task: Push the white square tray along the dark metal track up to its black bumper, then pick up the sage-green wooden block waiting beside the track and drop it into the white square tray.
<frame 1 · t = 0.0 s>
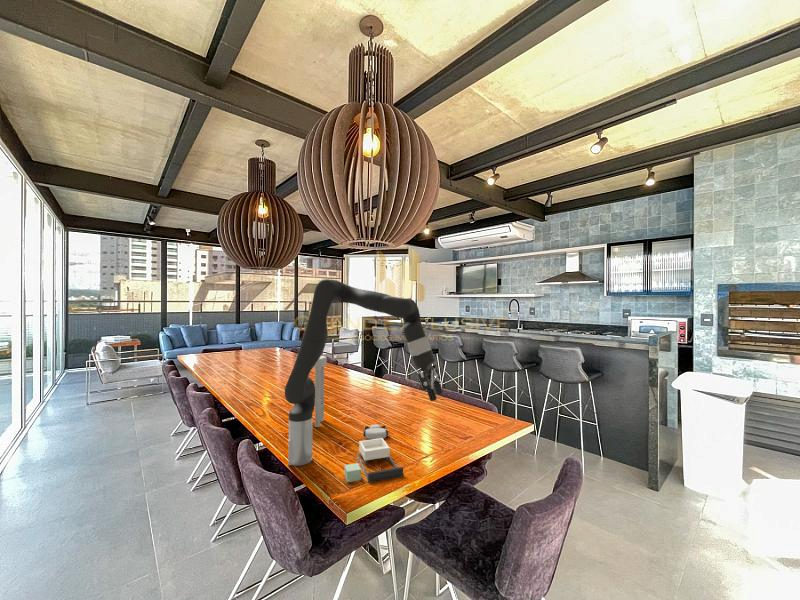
hand: (437, 397, 115), 31 cm above the table, tool tilted 20°, fingers open, 8 cm apart
white square tray: (374, 451, 134), point 4 cm above the table, slide at 0.0 cm
robot toy: (375, 437, 159), on the table
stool: (311, 424, 176), on the table
block: (352, 481, 119), on the table
track: (377, 468, 129), on the table
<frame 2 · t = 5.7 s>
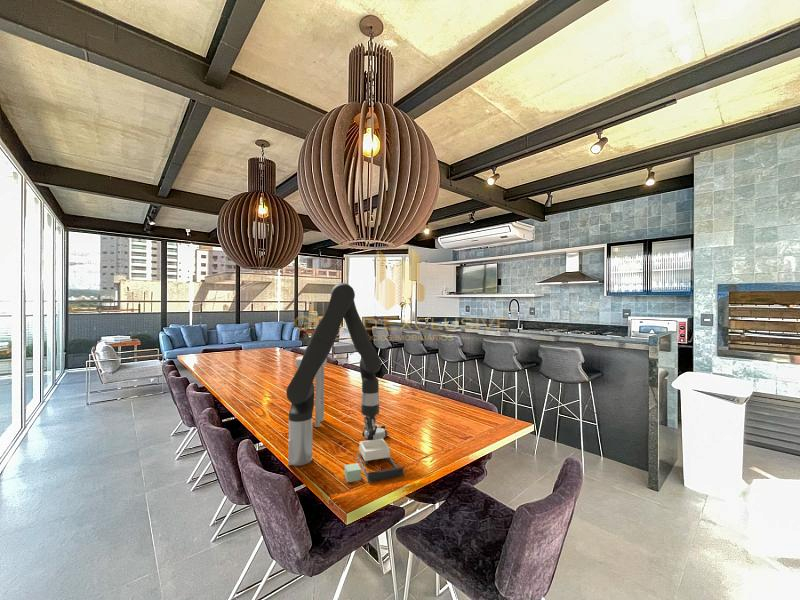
hand: (370, 443, 140), 5 cm above the table, tool pointing down, fingers closed
white square tray: (374, 451, 134), point 4 cm above the table, slide at 0.4 cm, touching gripper
everything else where it was.
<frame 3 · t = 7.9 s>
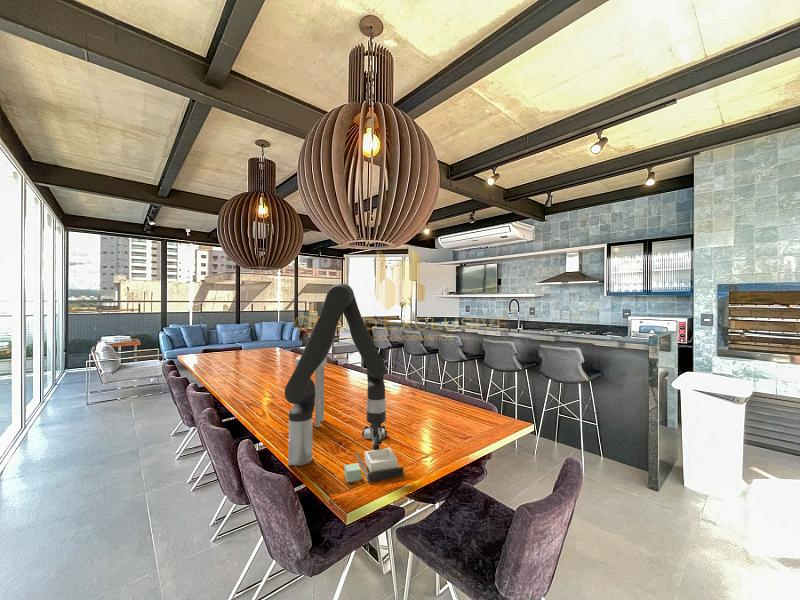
hand: (376, 453, 131), 5 cm above the table, tool pointing down, fingers closed
white square tray: (380, 462, 125), point 4 cm above the table, slide at 10.0 cm, touching gripper
everything else where it was.
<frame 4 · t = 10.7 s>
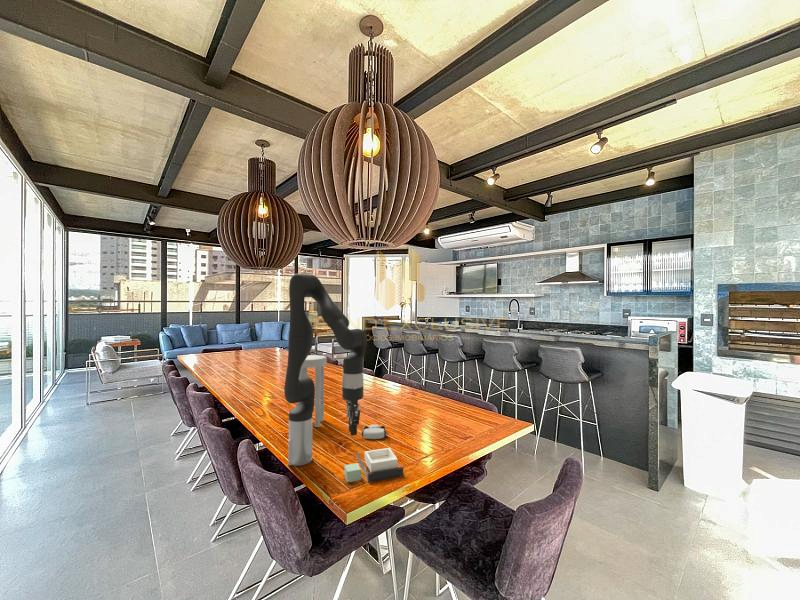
hand: (352, 432, 120), 17 cm above the table, tool pointing down, fingers closed
white square tray: (380, 462, 125), point 4 cm above the table, slide at 10.0 cm
everything else where it was.
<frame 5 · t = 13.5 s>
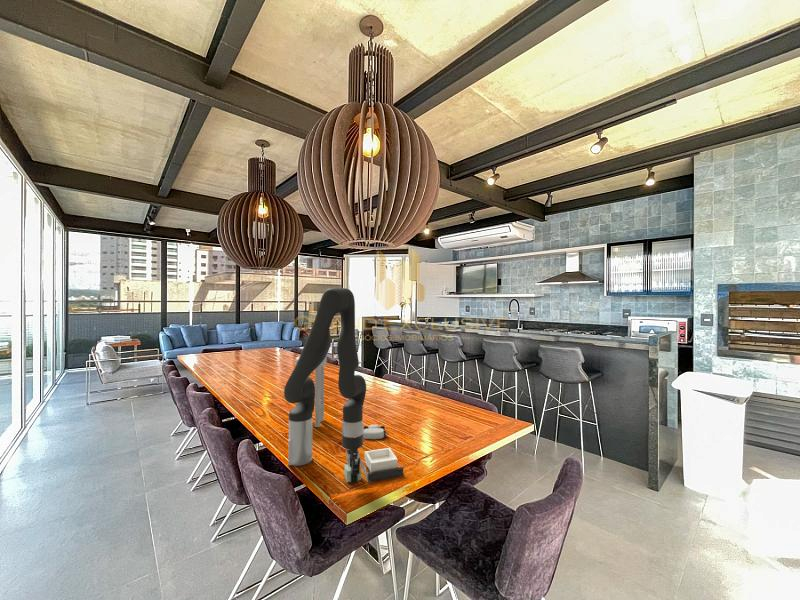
hand: (352, 479, 119), 0 cm above the table, tool pointing down, fingers closed on block, 5 cm apart
block: (352, 480, 119), on the table, touching gripper
everything else where it was.
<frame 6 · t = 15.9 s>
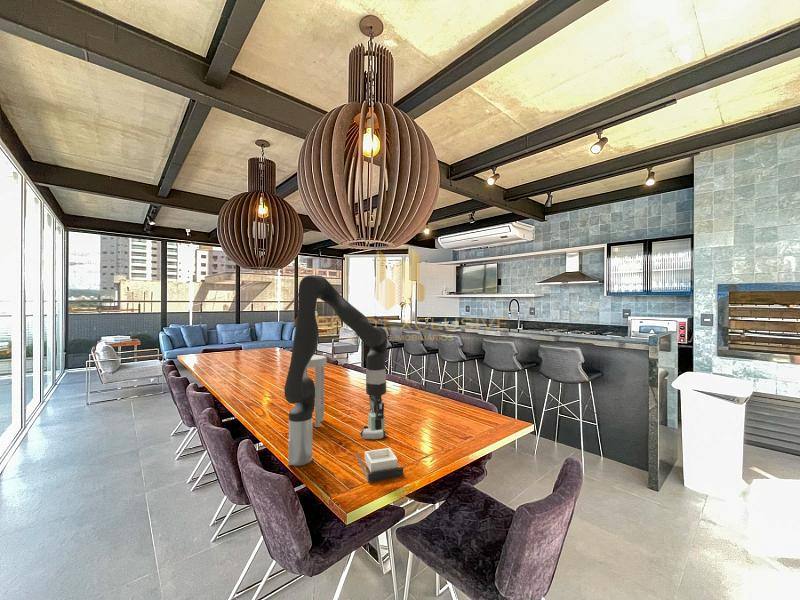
hand: (376, 426, 124), 18 cm above the table, tool pointing down, fingers closed on block, 5 cm apart
block: (376, 427, 124), point 17 cm above the table, touching gripper
everything else where it was.
when the fingers open (7 cm above the table, at t = 18.4 s): block drops 3 cm, resting on white square tray.
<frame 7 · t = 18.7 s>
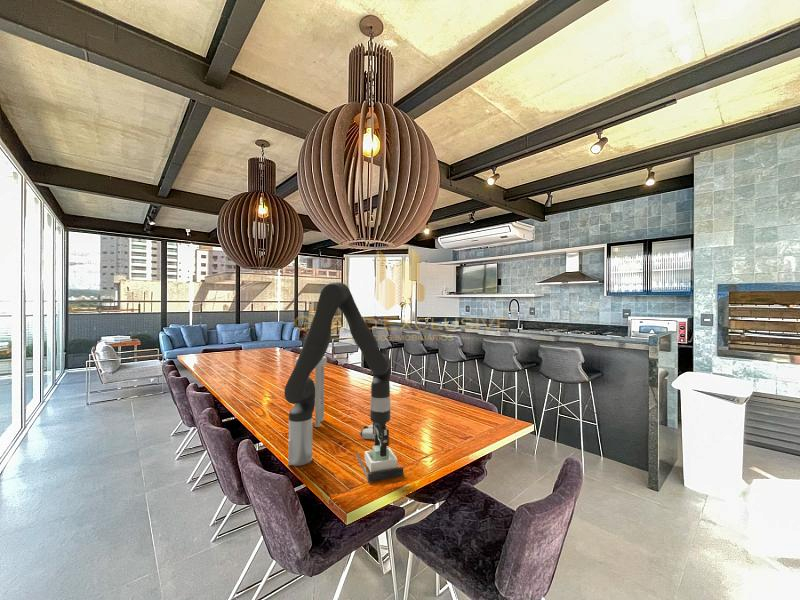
hand: (380, 451, 125), 8 cm above the table, tool pointing down, fingers open, 7 cm apart
white square tray: (380, 462, 125), point 4 cm above the table, slide at 10.0 cm, touching block
block: (380, 461, 125), point 4 cm above the table, touching white square tray
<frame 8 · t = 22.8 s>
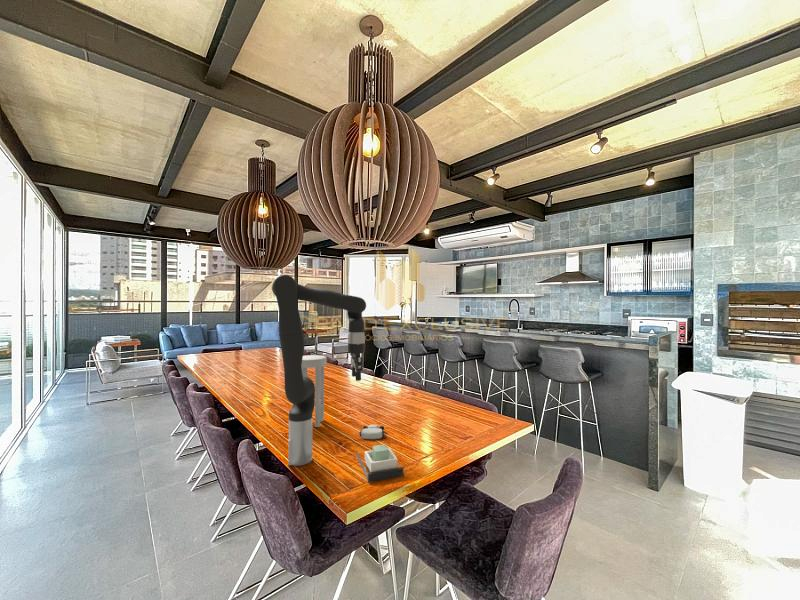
hand: (356, 378, 148), 30 cm above the table, tool pointing down, fingers open, 8 cm apart
at the end: white square tray slide at 10.0 cm; block inside the target area (0.1 cm from its centre), point 4.2 cm above the table; the gripper is holding nothing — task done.
